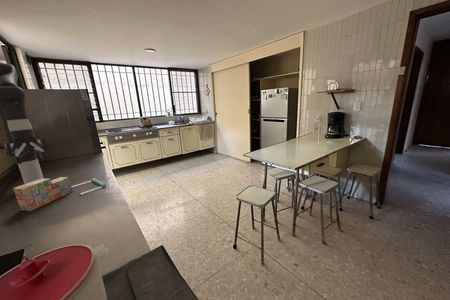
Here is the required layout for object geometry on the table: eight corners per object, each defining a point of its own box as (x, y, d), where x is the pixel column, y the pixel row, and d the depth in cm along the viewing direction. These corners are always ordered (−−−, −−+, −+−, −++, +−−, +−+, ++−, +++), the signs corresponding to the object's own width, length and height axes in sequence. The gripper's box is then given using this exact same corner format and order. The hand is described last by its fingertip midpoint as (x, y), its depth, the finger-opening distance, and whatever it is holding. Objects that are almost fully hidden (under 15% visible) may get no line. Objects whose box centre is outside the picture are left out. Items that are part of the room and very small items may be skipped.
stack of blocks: (65, 190, 112) (59, 172, 109) (73, 191, 111) (67, 172, 108) (20, 210, 92) (12, 188, 89) (29, 211, 90) (21, 188, 87)
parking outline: (70, 187, 116) (70, 184, 115) (94, 180, 126) (93, 177, 125) (81, 195, 105) (80, 192, 104) (106, 186, 115) (105, 183, 114)
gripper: (36, 127, 97) (46, 157, 100) (-5, 131, 84) (8, 165, 88) (43, 127, 94) (53, 157, 97) (2, 131, 81) (15, 165, 85)
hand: (31, 161), depth 92 cm, fingers open, 8 cm apart
